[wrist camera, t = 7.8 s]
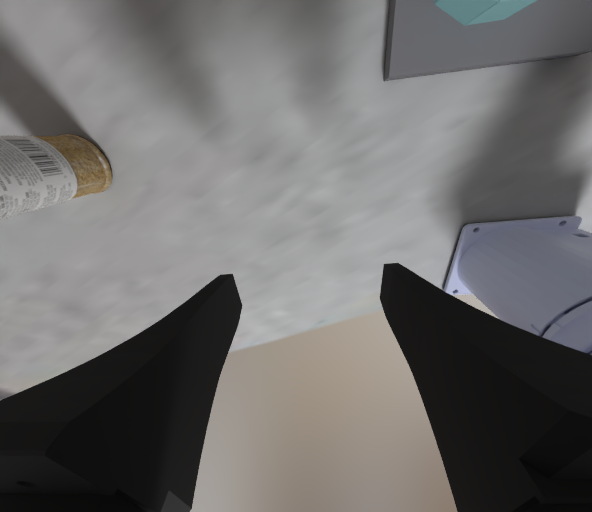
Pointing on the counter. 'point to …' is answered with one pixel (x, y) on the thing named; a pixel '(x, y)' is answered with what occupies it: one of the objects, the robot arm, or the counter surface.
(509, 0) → the ring
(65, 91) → the counter surface
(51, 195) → the sprinkles bottle
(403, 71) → the pin board
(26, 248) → the counter surface
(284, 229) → the counter surface
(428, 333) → the robot arm
